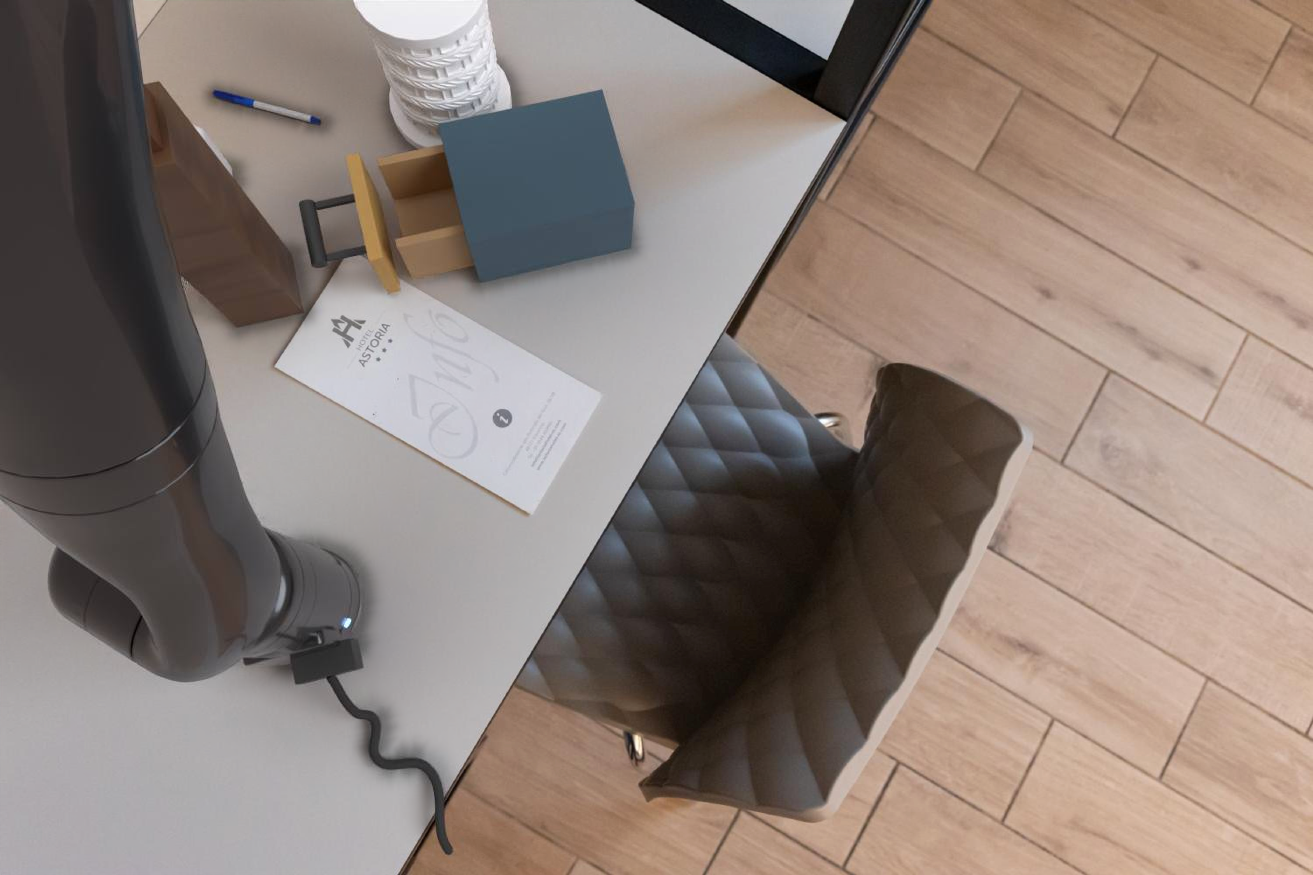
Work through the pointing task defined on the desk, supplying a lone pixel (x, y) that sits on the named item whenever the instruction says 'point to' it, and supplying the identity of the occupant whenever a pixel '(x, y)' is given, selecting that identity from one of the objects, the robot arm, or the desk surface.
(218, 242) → the riser
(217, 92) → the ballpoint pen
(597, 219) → the cabinet
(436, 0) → the decorative container
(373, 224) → the drawer
